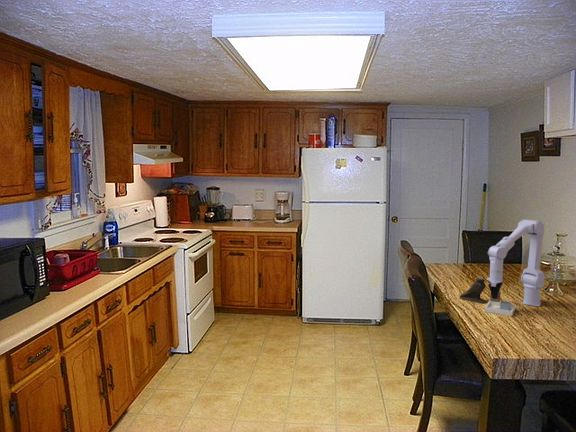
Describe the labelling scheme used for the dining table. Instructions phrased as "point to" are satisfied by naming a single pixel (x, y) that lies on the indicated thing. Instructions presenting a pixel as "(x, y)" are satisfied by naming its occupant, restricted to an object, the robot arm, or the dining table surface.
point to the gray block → (505, 305)
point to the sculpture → (475, 292)
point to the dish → (495, 309)
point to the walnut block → (496, 299)
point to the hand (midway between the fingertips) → (495, 297)
